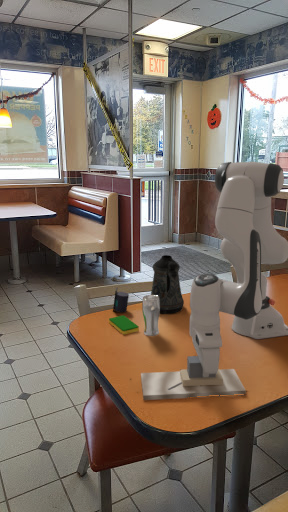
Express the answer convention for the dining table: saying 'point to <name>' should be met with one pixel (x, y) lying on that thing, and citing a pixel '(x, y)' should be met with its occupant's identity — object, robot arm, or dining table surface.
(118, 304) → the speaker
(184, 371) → the block
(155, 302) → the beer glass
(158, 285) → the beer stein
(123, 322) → the dish sponge
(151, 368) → the dining table surface
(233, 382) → the marked board
